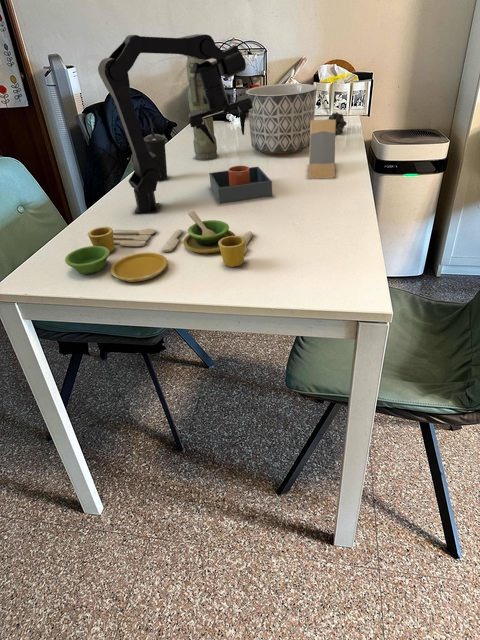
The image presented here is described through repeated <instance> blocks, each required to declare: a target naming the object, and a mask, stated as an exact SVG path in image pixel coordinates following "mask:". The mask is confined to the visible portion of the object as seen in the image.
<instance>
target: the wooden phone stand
mask: <svg viewBox="0 0 480 640" xmlns="http://www.w3.org/2000/svg"><path fill="white" fill-rule="evenodd" d="M335 133H336V120H328V119H314V120H311V124H310V146H309V152H308V153H309V154H308V157H309V159H308V173H309V175H308V177H309V179H335V178H336V177H335V174H336V171H335V170H336V169H335V167H336V134H337V133H336V134H335Z"/></svg>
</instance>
